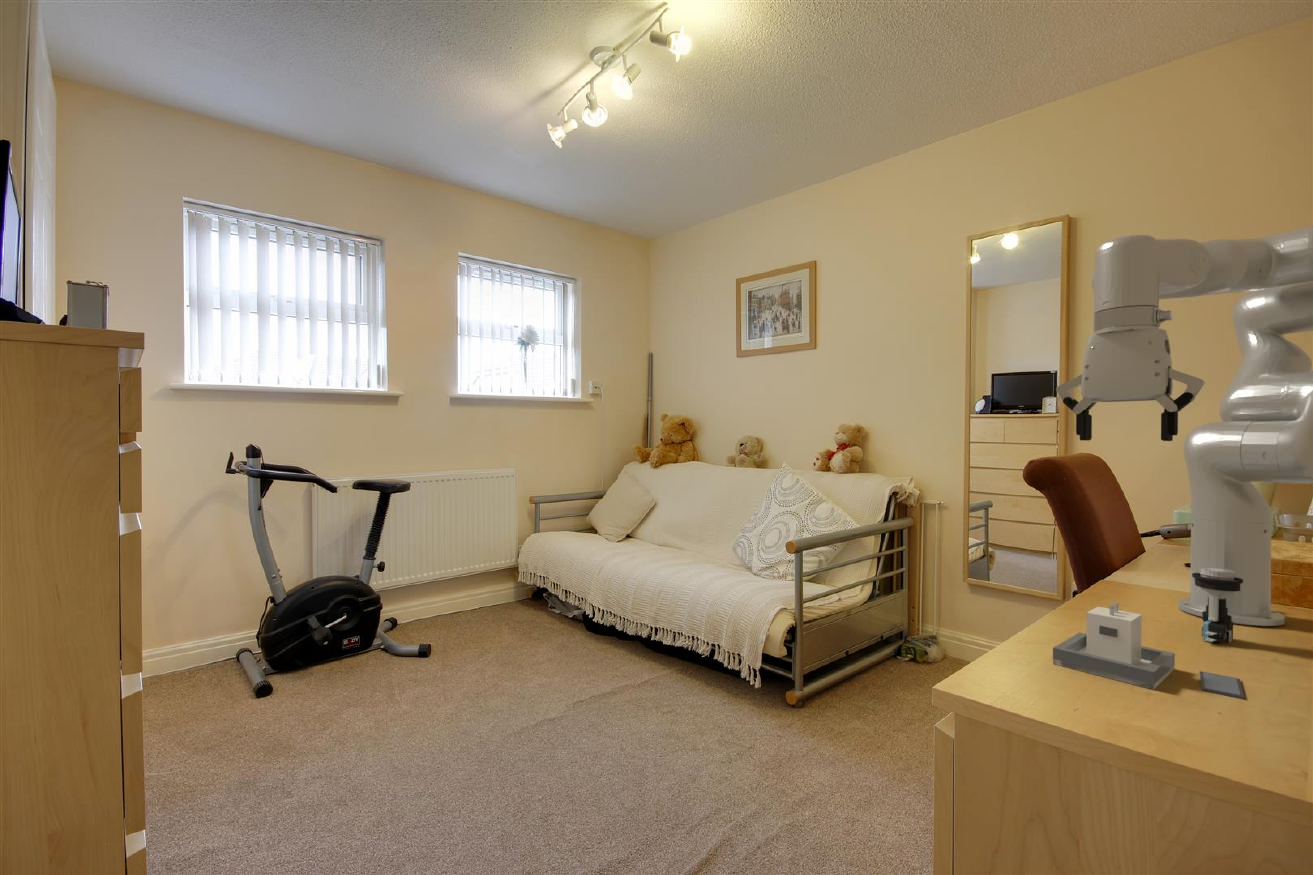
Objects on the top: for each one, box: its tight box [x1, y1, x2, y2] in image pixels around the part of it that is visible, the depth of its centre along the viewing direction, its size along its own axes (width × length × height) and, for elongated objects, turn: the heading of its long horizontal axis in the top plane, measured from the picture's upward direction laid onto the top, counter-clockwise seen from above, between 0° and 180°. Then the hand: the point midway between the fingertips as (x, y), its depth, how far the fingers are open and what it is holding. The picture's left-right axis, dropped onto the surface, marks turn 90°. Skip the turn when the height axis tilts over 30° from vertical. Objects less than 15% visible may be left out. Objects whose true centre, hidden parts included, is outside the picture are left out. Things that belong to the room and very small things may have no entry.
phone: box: [1199, 670, 1246, 700], centre depth 70 cm, size 7×4×1 cm, turn 139°
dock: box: [1052, 632, 1176, 691], centre depth 75 cm, size 10×10×2 cm
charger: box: [1086, 601, 1142, 666], centre depth 75 cm, size 5×4×7 cm
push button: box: [1192, 567, 1243, 645], centre depth 85 cm, size 7×5×10 cm
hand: (1124, 440), depth 88 cm, fingers open, 9 cm apart
